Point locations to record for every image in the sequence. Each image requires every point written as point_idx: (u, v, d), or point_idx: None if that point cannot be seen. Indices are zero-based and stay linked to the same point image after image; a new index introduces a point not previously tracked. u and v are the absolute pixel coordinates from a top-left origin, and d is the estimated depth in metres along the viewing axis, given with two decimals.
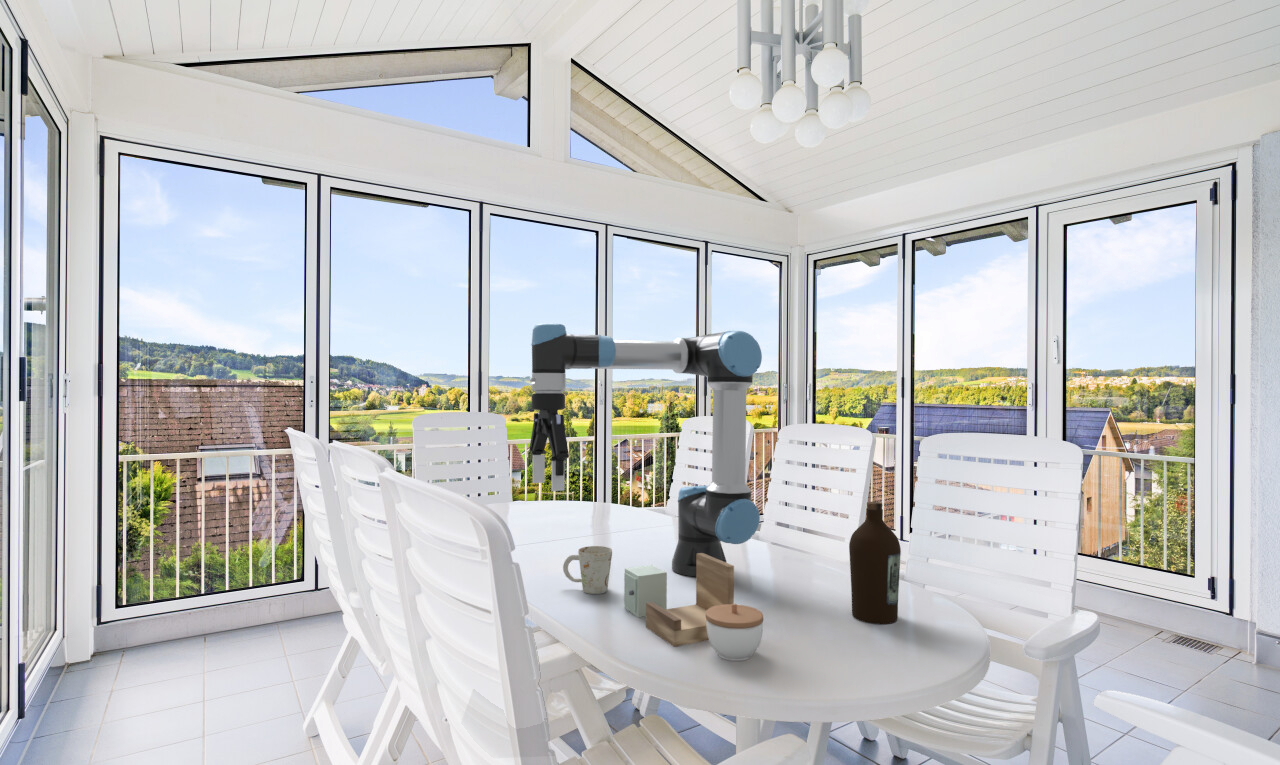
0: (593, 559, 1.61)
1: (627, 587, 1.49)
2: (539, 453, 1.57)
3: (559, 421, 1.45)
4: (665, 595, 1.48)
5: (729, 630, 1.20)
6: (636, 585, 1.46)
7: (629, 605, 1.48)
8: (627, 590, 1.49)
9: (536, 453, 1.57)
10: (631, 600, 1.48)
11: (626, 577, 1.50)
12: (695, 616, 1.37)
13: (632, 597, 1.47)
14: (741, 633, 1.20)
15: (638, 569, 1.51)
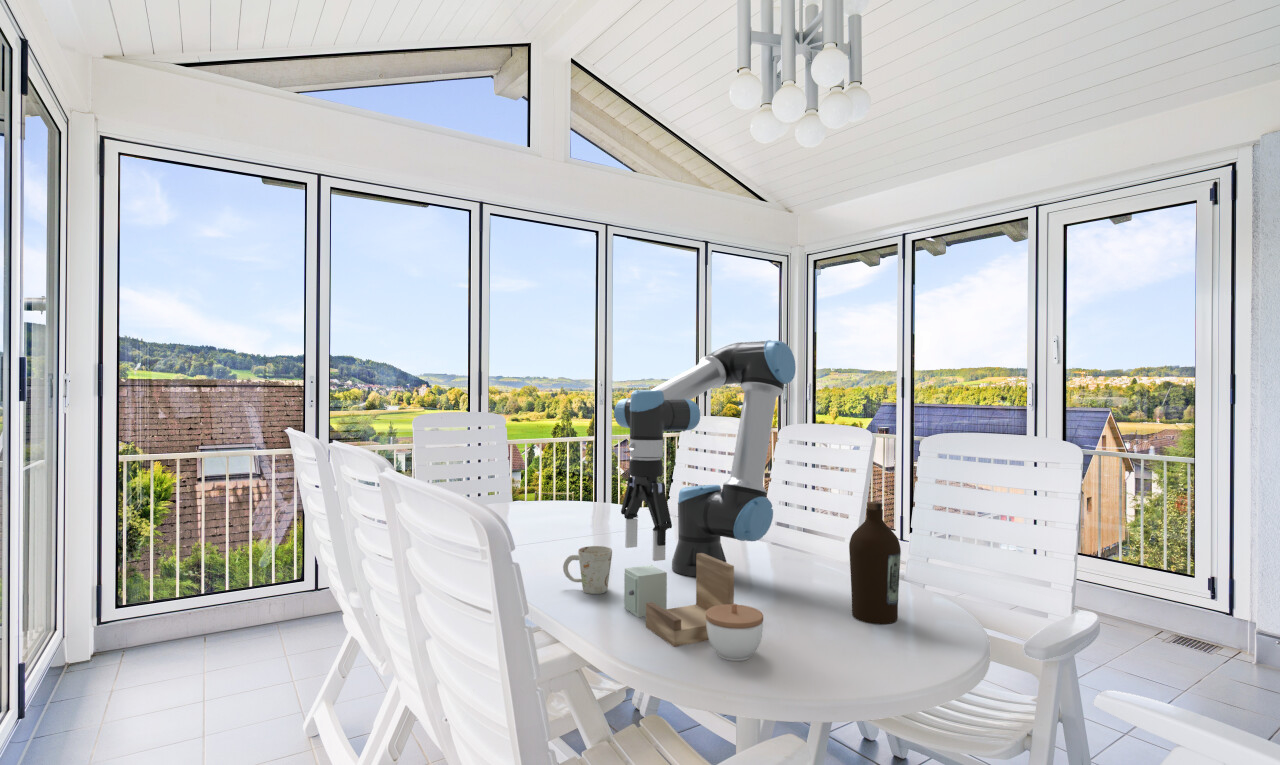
0: (593, 559, 1.61)
1: (627, 587, 1.49)
2: (632, 517, 1.56)
3: (661, 490, 1.44)
4: (665, 595, 1.48)
5: (729, 630, 1.20)
6: (636, 585, 1.46)
7: (629, 605, 1.48)
8: (627, 590, 1.49)
9: (629, 517, 1.56)
10: (631, 600, 1.48)
11: (626, 577, 1.50)
12: (695, 616, 1.37)
13: (632, 597, 1.47)
14: (741, 633, 1.20)
15: (638, 569, 1.51)
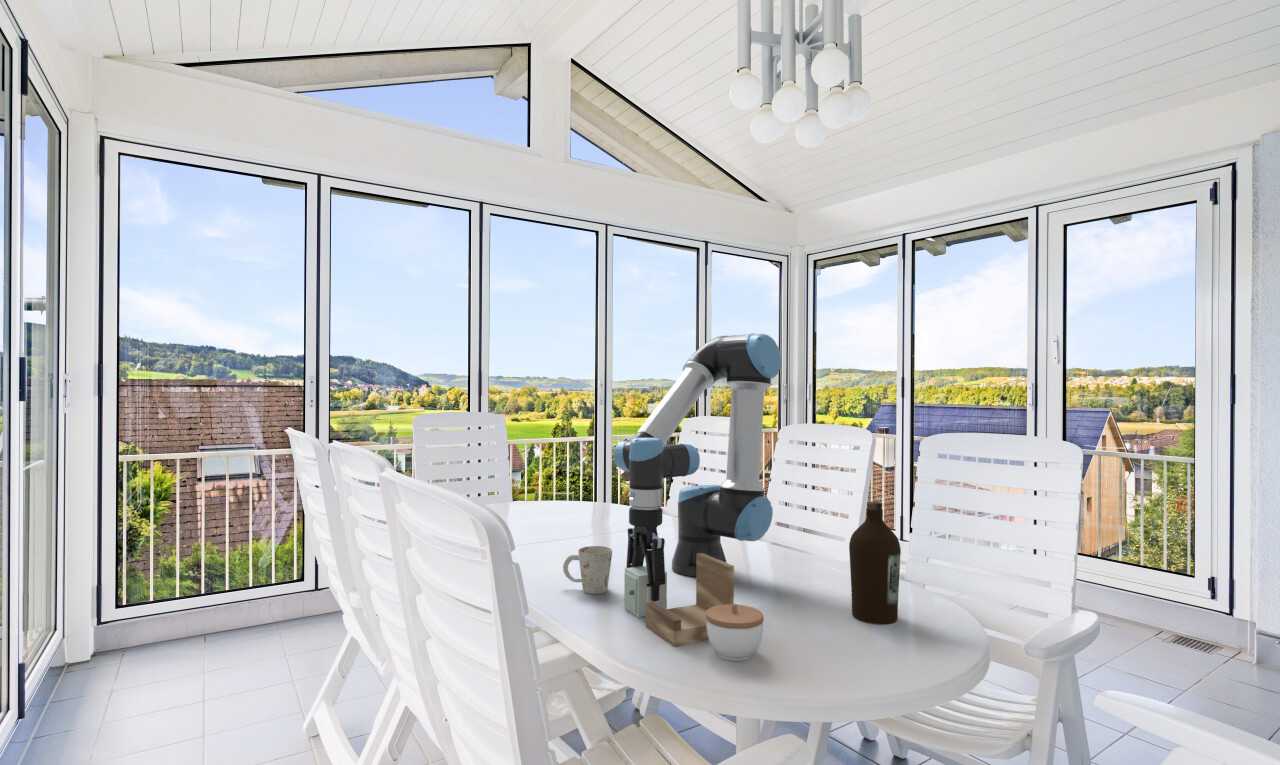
0: (593, 559, 1.61)
1: (627, 587, 1.49)
2: None
3: (660, 546, 1.44)
4: (665, 595, 1.48)
5: (729, 630, 1.20)
6: (636, 585, 1.46)
7: (629, 605, 1.48)
8: (627, 590, 1.49)
9: None
10: (631, 599, 1.48)
11: (626, 577, 1.50)
12: (695, 616, 1.37)
13: (632, 597, 1.47)
14: (741, 633, 1.20)
15: (638, 569, 1.51)
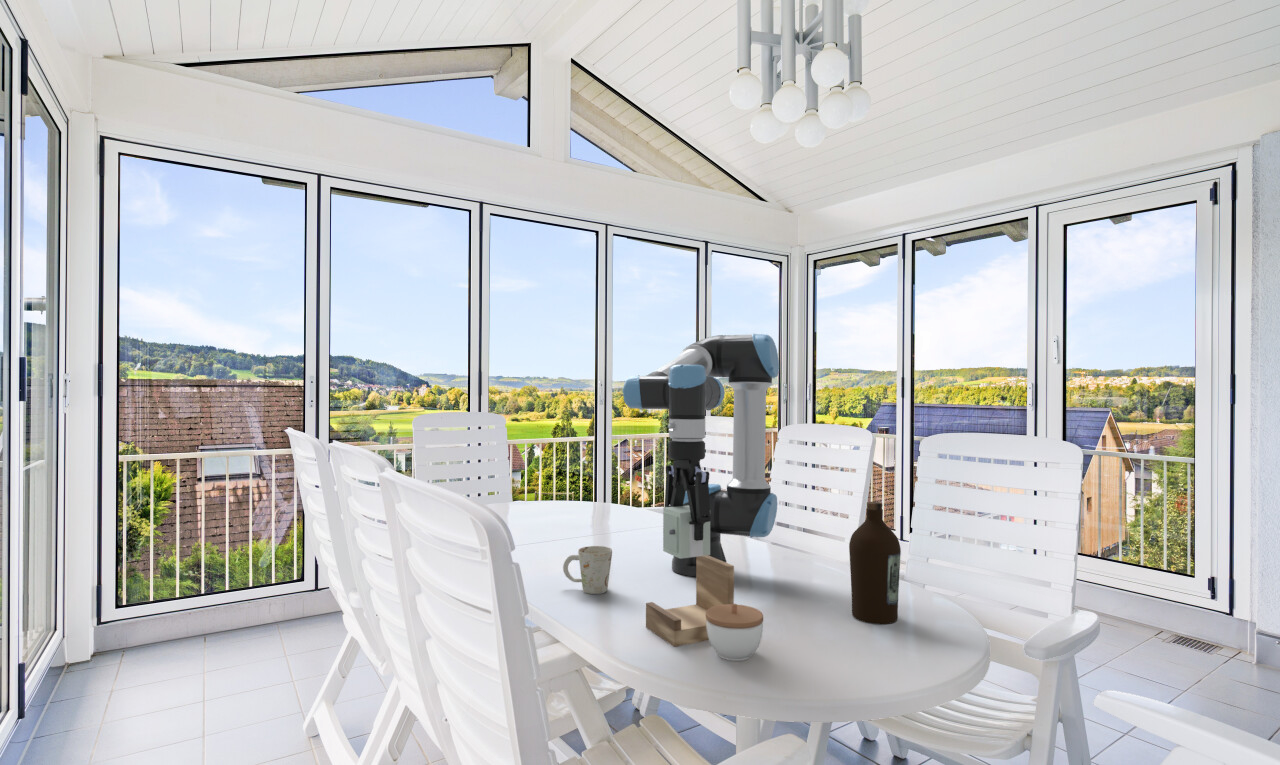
0: (593, 559, 1.61)
1: (667, 527, 1.36)
2: None
3: (704, 480, 1.31)
4: (708, 535, 1.35)
5: (729, 630, 1.20)
6: (677, 523, 1.33)
7: (669, 546, 1.35)
8: (667, 530, 1.36)
9: None
10: (671, 540, 1.35)
11: (665, 516, 1.37)
12: (695, 616, 1.37)
13: (673, 537, 1.34)
14: (741, 633, 1.20)
15: (678, 508, 1.38)
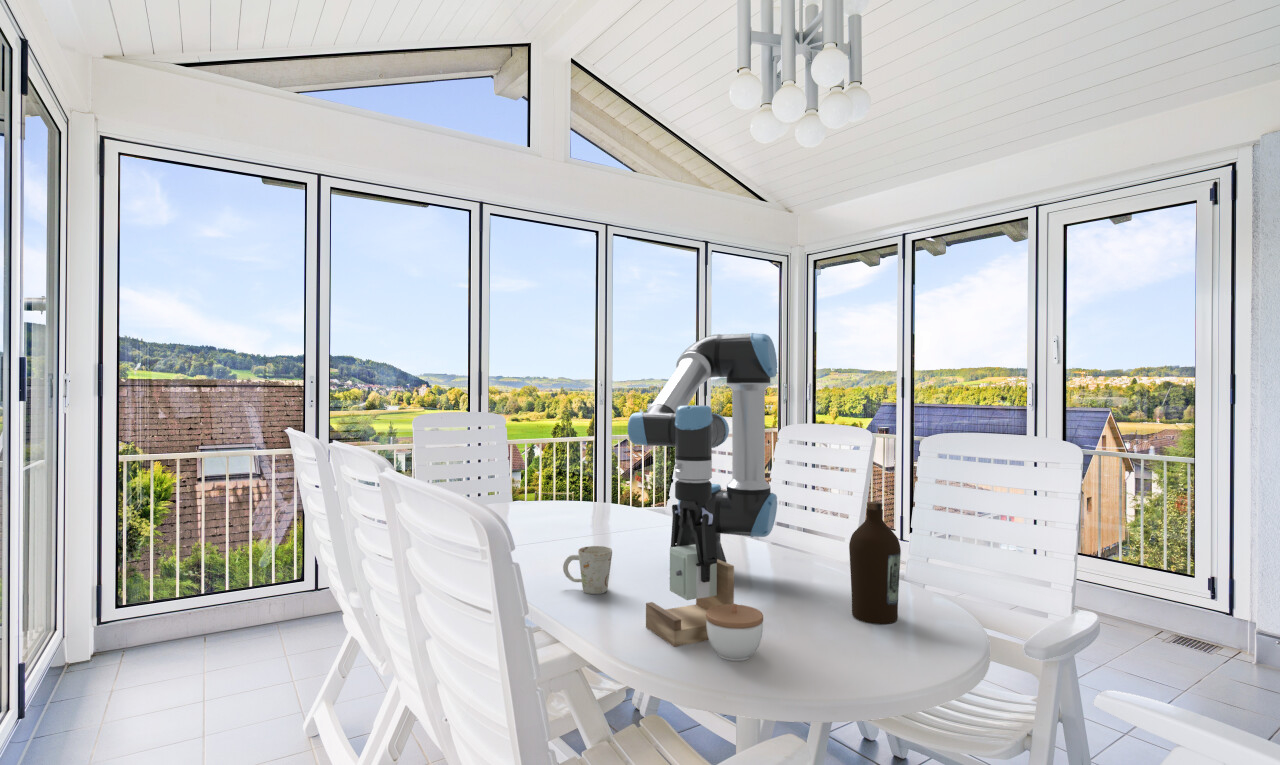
0: (593, 559, 1.61)
1: (673, 567, 1.37)
2: None
3: (711, 522, 1.32)
4: (715, 576, 1.36)
5: (729, 630, 1.20)
6: (684, 564, 1.33)
7: (676, 587, 1.36)
8: (673, 570, 1.37)
9: None
10: (678, 581, 1.35)
11: (672, 556, 1.37)
12: (695, 616, 1.37)
13: (679, 578, 1.34)
14: (741, 633, 1.20)
15: (685, 548, 1.38)
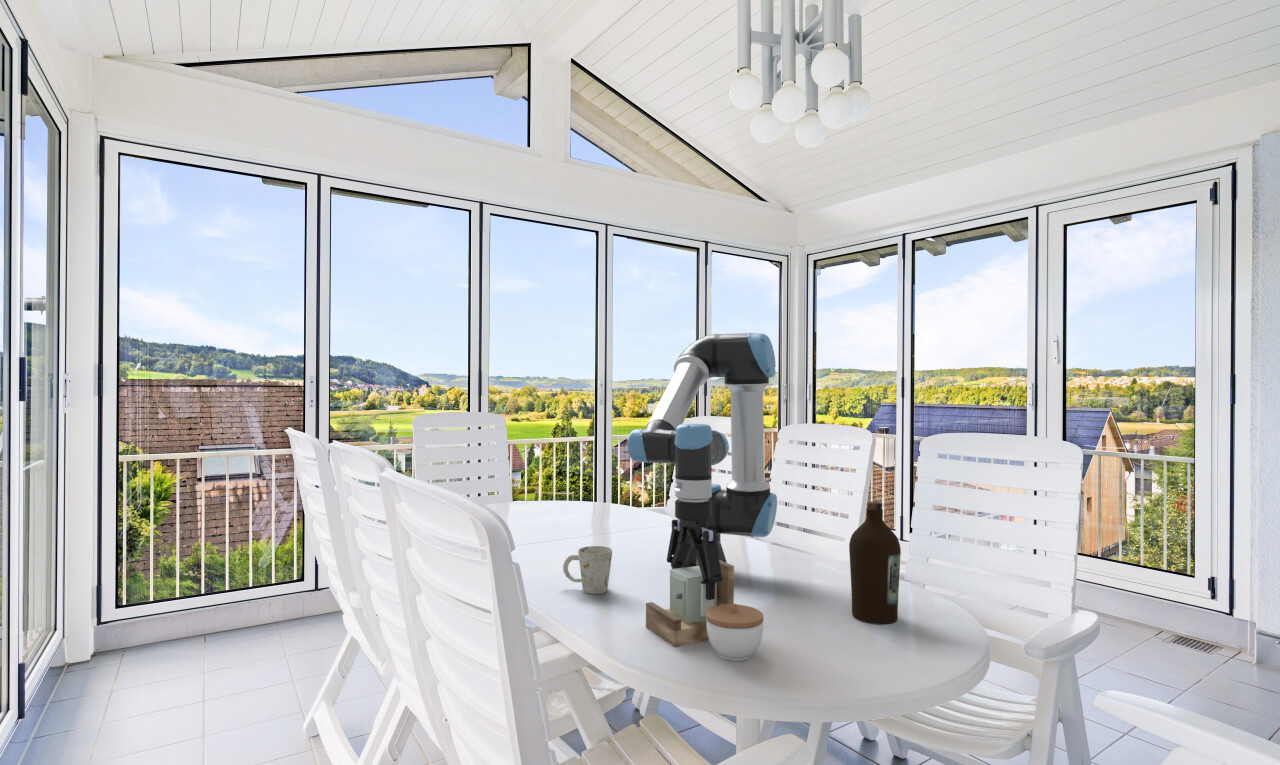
0: (593, 559, 1.61)
1: (673, 590, 1.37)
2: (679, 566, 1.43)
3: (711, 538, 1.32)
4: (715, 599, 1.36)
5: (729, 630, 1.20)
6: (684, 588, 1.33)
7: (676, 610, 1.36)
8: (673, 593, 1.37)
9: (676, 566, 1.43)
10: (678, 604, 1.35)
11: (672, 579, 1.37)
12: None
13: (680, 601, 1.35)
14: (741, 633, 1.20)
15: (685, 570, 1.38)
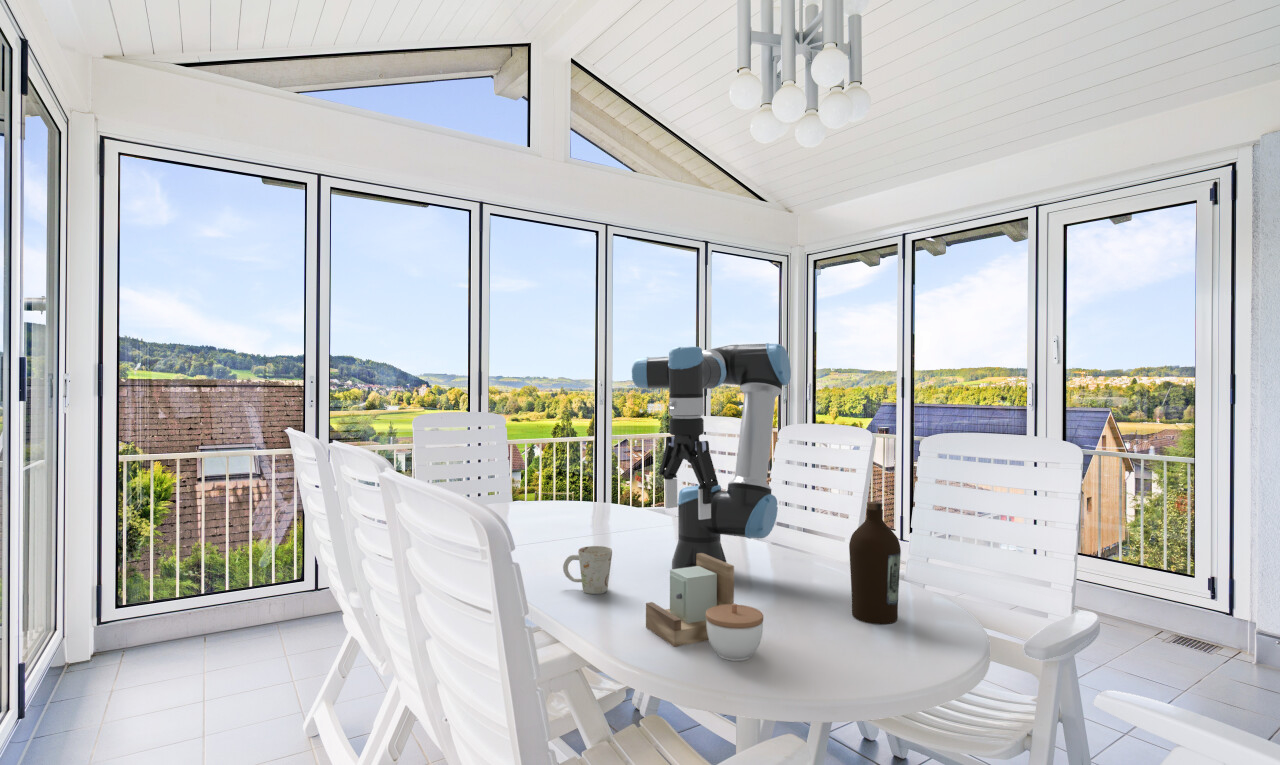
0: (593, 559, 1.61)
1: (673, 590, 1.37)
2: (671, 477, 1.54)
3: (705, 448, 1.41)
4: (715, 599, 1.36)
5: (729, 630, 1.20)
6: (684, 588, 1.33)
7: (676, 610, 1.36)
8: (673, 593, 1.37)
9: (668, 477, 1.53)
10: (678, 604, 1.35)
11: (672, 579, 1.37)
12: None
13: (680, 601, 1.35)
14: (741, 633, 1.20)
15: (685, 570, 1.38)
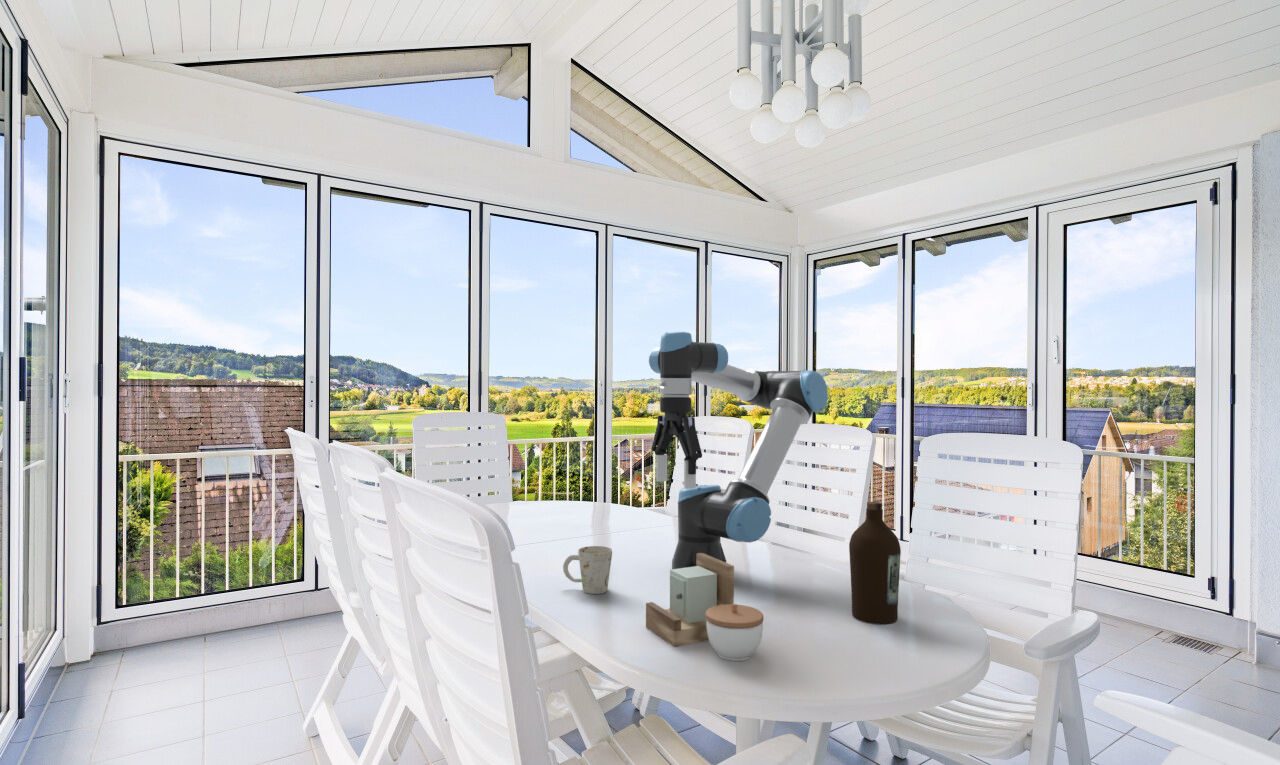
0: (593, 559, 1.61)
1: (673, 590, 1.37)
2: (662, 453, 1.67)
3: (691, 423, 1.55)
4: (715, 599, 1.36)
5: (729, 630, 1.20)
6: (684, 588, 1.33)
7: (676, 610, 1.36)
8: (673, 593, 1.37)
9: (659, 453, 1.67)
10: (678, 604, 1.35)
11: (672, 579, 1.37)
12: None
13: (680, 601, 1.35)
14: (741, 633, 1.20)
15: (685, 570, 1.38)
